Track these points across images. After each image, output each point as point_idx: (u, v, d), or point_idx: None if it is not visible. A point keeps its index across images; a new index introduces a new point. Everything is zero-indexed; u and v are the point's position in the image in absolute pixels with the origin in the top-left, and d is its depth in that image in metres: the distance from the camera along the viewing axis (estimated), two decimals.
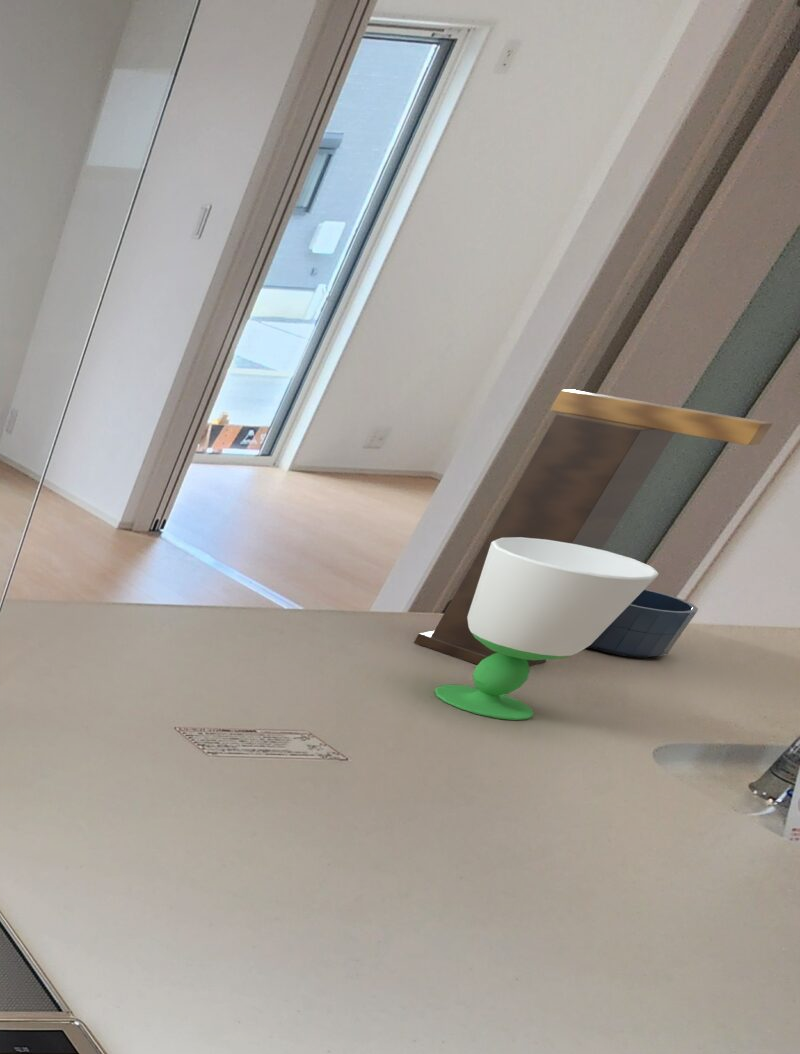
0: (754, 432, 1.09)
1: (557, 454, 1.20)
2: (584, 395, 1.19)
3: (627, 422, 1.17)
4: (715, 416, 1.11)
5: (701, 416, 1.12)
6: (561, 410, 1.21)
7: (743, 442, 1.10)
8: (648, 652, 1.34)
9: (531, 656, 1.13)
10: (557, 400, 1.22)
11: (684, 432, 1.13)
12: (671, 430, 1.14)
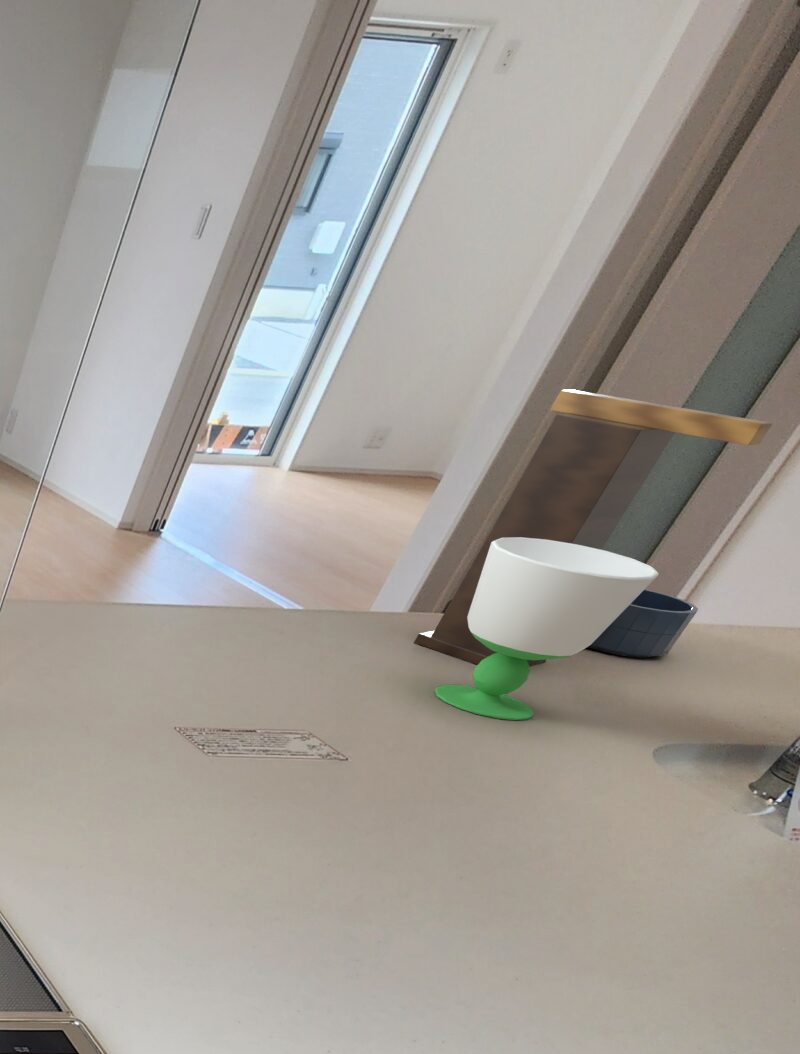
0: (754, 432, 1.09)
1: (557, 454, 1.20)
2: (584, 395, 1.19)
3: (627, 422, 1.17)
4: (715, 416, 1.11)
5: (701, 416, 1.12)
6: (561, 410, 1.21)
7: (743, 442, 1.10)
8: (648, 652, 1.34)
9: (531, 656, 1.13)
10: (557, 400, 1.22)
11: (684, 432, 1.13)
12: (671, 430, 1.14)
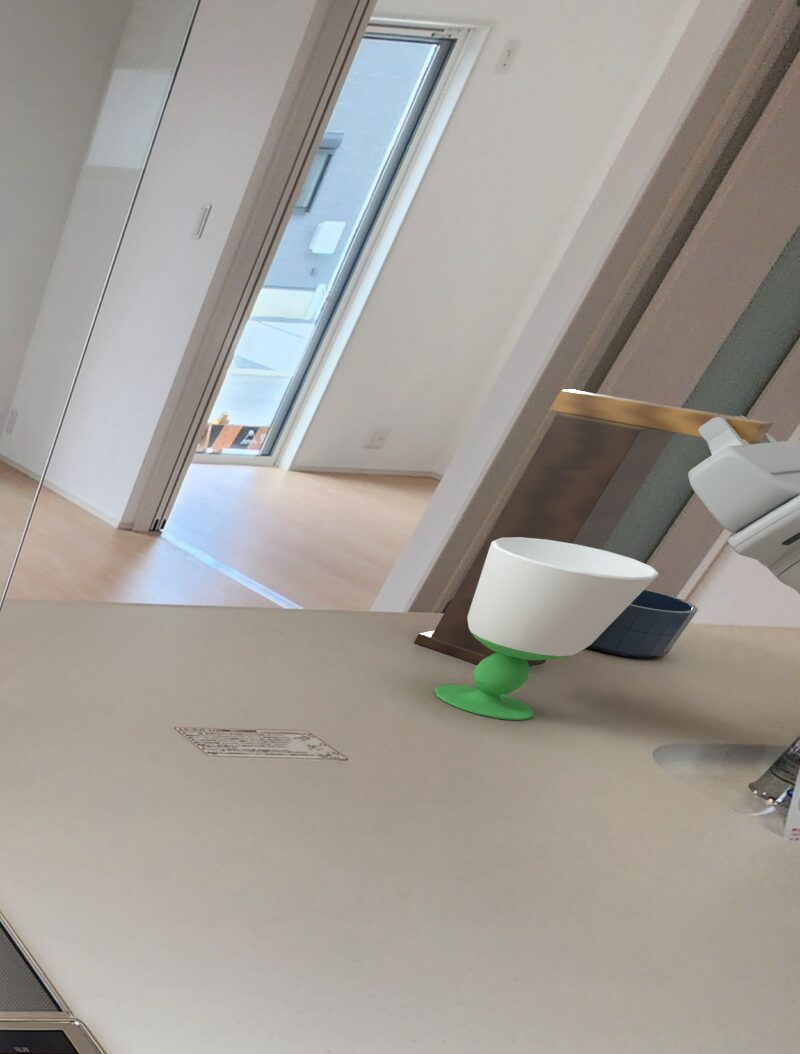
0: (754, 432, 1.09)
1: (557, 454, 1.20)
2: (584, 395, 1.19)
3: (627, 422, 1.17)
4: (715, 416, 1.11)
5: (701, 416, 1.12)
6: (561, 410, 1.21)
7: None
8: (648, 652, 1.34)
9: (531, 656, 1.13)
10: (557, 400, 1.22)
11: (684, 432, 1.13)
12: (671, 430, 1.14)
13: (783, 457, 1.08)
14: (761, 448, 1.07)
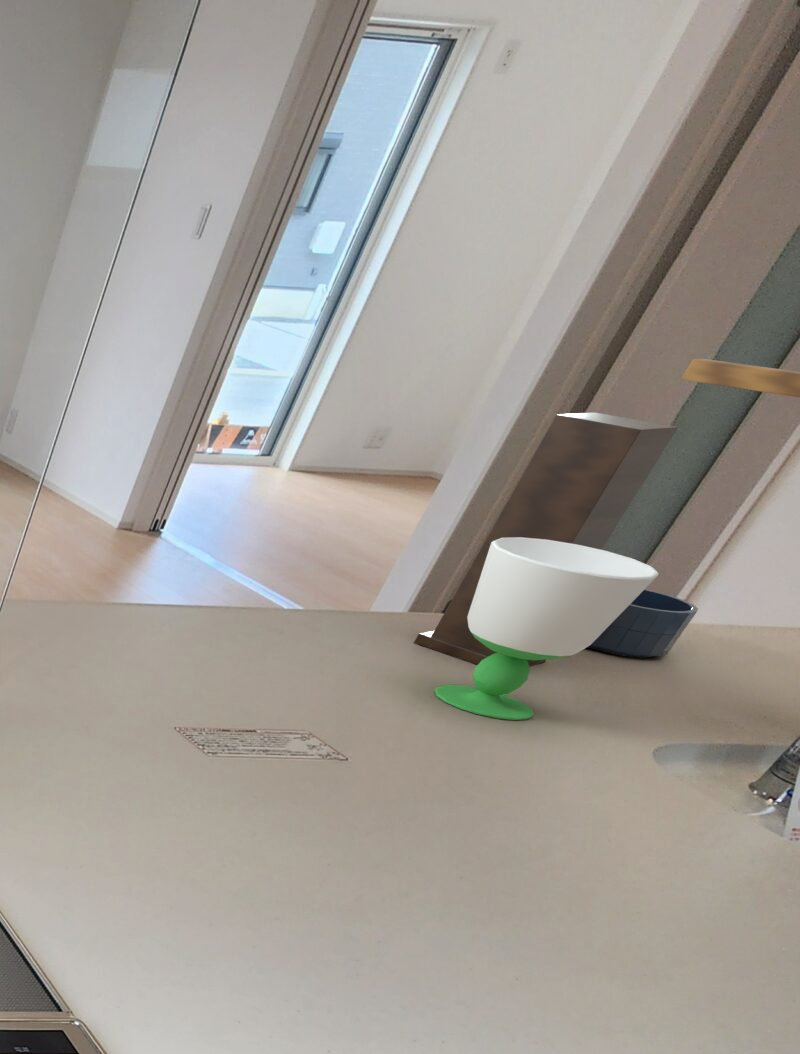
0: None
1: (557, 454, 1.20)
2: (718, 364, 1.17)
3: (765, 390, 1.15)
4: None
5: None
6: (693, 379, 1.19)
7: None
8: (648, 652, 1.34)
9: (531, 656, 1.13)
10: (688, 369, 1.19)
11: None
12: None
13: None
14: None
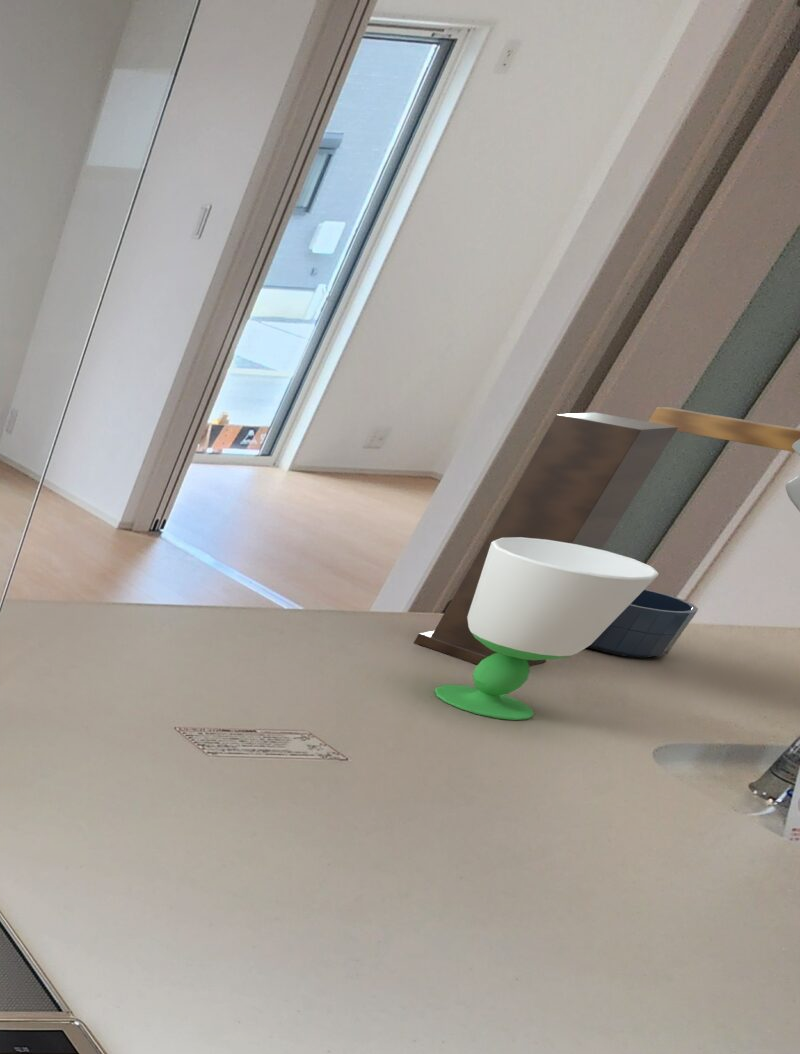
0: None
1: (557, 454, 1.20)
2: (680, 412, 1.28)
3: (722, 437, 1.26)
4: None
5: (795, 432, 1.21)
6: None
7: None
8: (648, 652, 1.34)
9: (531, 656, 1.13)
10: (653, 416, 1.30)
11: (777, 447, 1.22)
12: (765, 445, 1.23)
13: None
14: None
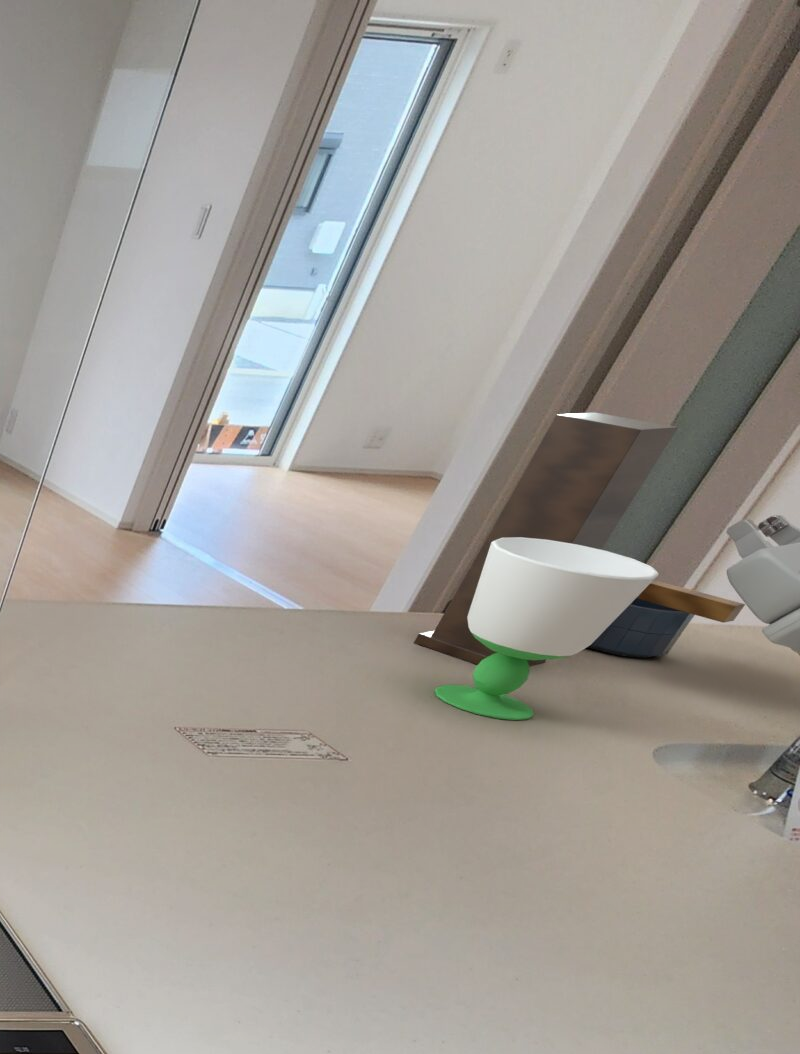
0: (728, 612, 1.28)
1: (557, 454, 1.20)
2: None
3: None
4: (696, 595, 1.31)
5: (684, 594, 1.31)
6: None
7: (719, 620, 1.29)
8: (648, 652, 1.34)
9: (531, 656, 1.13)
10: None
11: (670, 606, 1.33)
12: (659, 603, 1.34)
13: None
14: (791, 549, 1.21)
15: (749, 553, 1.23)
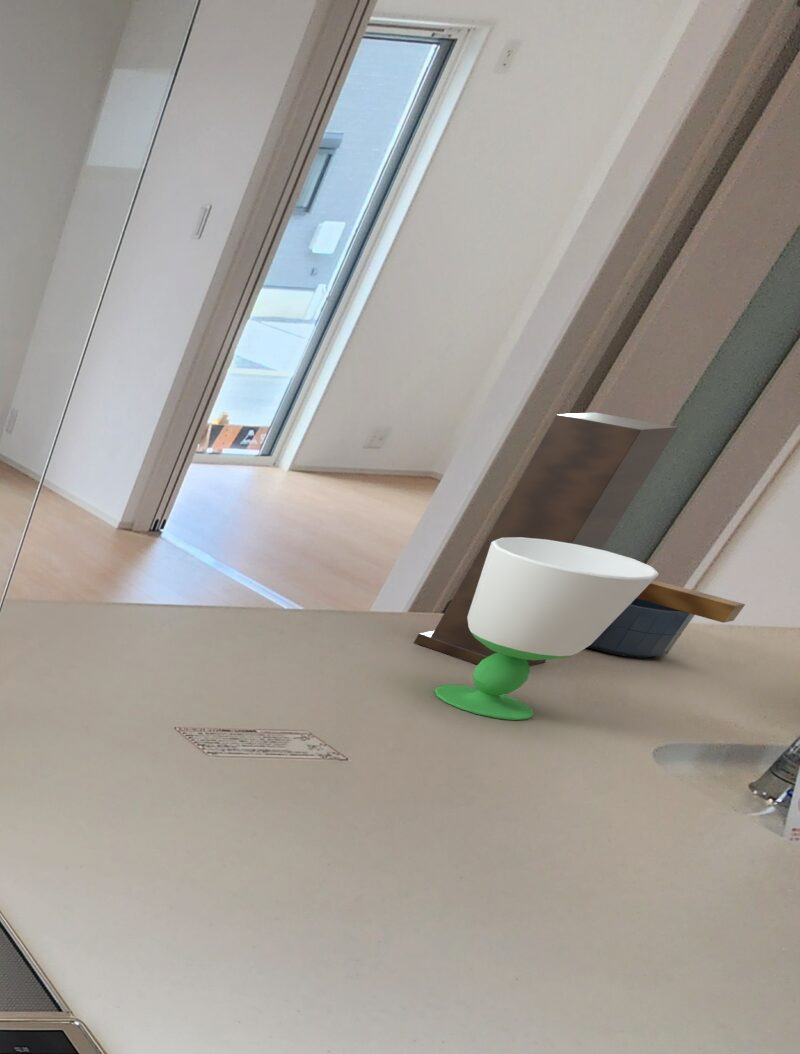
0: (728, 612, 1.28)
1: (557, 454, 1.20)
2: None
3: None
4: (696, 595, 1.31)
5: (684, 594, 1.31)
6: None
7: (719, 620, 1.29)
8: (648, 652, 1.34)
9: (531, 656, 1.13)
10: None
11: (670, 606, 1.33)
12: (659, 603, 1.34)
13: None
14: None
15: None
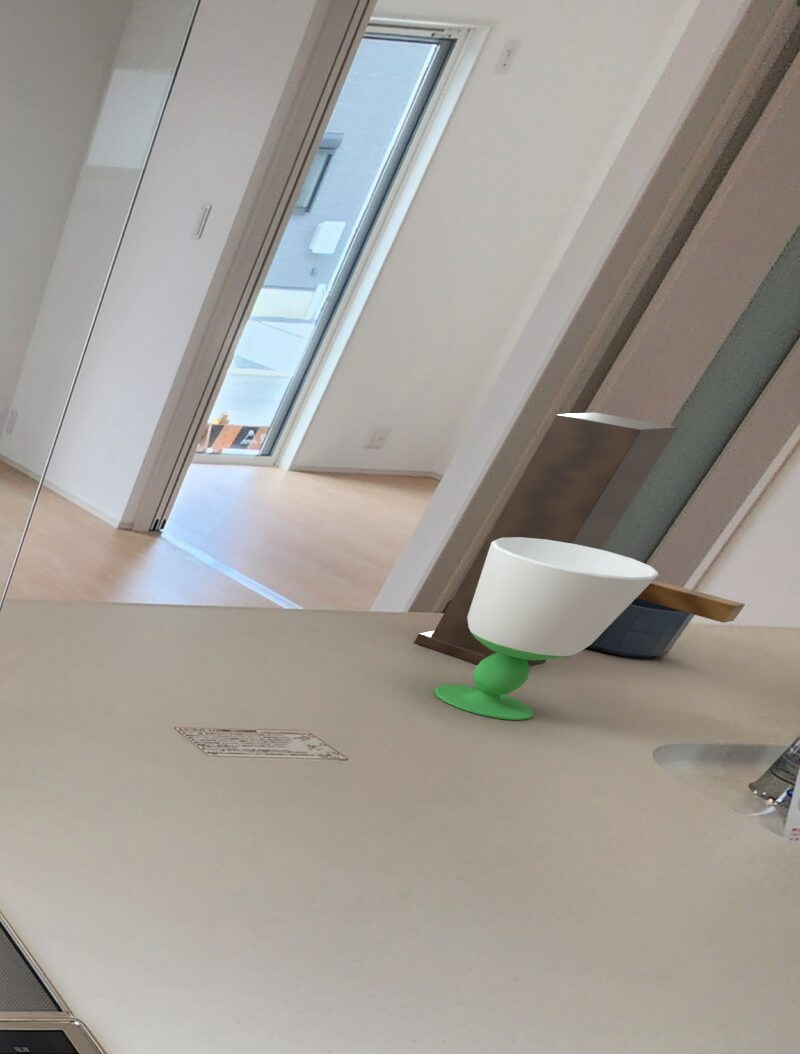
0: (728, 612, 1.28)
1: (557, 454, 1.20)
2: None
3: None
4: (696, 595, 1.31)
5: (684, 594, 1.31)
6: None
7: (719, 620, 1.29)
8: (648, 652, 1.34)
9: (531, 656, 1.13)
10: None
11: (670, 606, 1.33)
12: (659, 603, 1.34)
13: None
14: None
15: None
